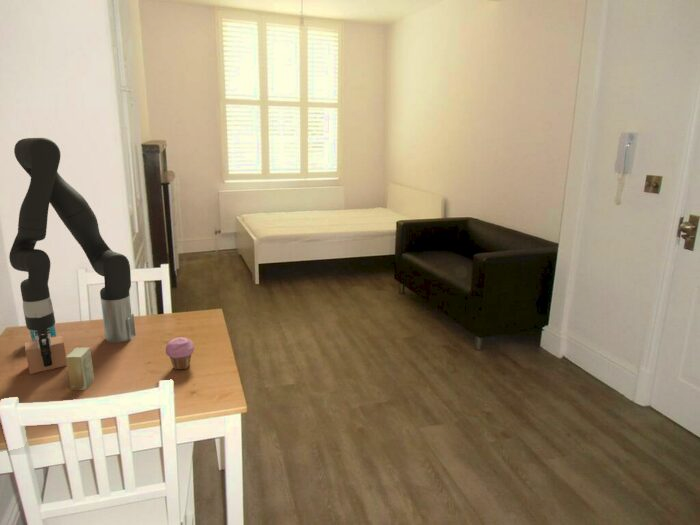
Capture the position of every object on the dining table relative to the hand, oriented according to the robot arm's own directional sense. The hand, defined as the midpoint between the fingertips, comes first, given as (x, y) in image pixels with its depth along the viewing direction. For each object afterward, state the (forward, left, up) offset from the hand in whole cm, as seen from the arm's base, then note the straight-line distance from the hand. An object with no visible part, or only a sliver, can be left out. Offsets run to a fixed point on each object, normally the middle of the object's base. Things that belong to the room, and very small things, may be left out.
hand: (47, 361), depth 149 cm
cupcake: (-41, +2, -3) cm, 41 cm away
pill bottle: (+9, -20, -3) cm, 22 cm away
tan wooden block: (0, 0, -2) cm, 2 cm away
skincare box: (-15, +13, -3) cm, 20 cm away
